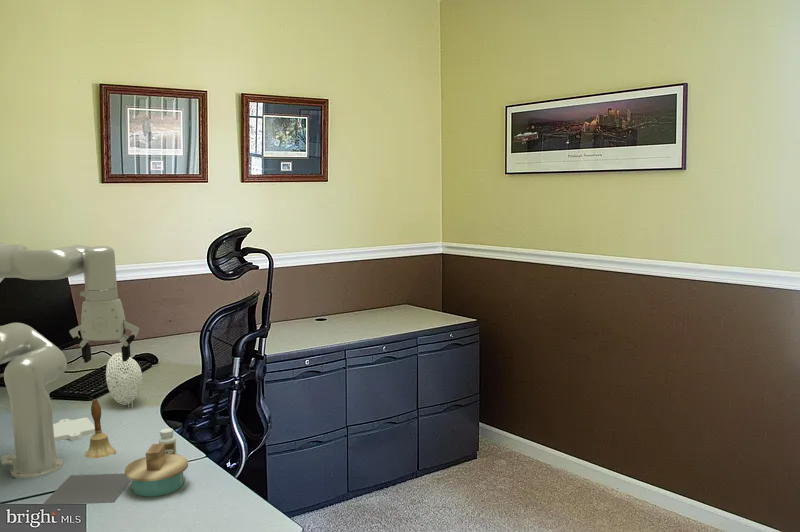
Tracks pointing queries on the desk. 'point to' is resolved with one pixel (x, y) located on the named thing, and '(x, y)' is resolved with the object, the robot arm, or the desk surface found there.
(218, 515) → the desk surface
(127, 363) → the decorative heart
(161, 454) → the lid
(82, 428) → the mounting plate
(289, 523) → the desk surface
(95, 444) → the hand bell
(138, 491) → the bowl
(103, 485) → the mat
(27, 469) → the robot arm
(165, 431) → the pill bottle
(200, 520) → the desk surface
